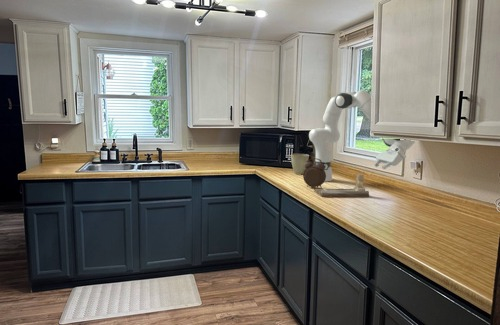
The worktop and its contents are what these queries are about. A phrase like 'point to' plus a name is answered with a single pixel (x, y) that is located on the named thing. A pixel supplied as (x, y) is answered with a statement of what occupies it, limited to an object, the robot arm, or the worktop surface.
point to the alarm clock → (314, 174)
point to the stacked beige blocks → (359, 183)
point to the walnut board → (341, 193)
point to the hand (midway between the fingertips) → (379, 167)
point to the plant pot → (299, 162)
